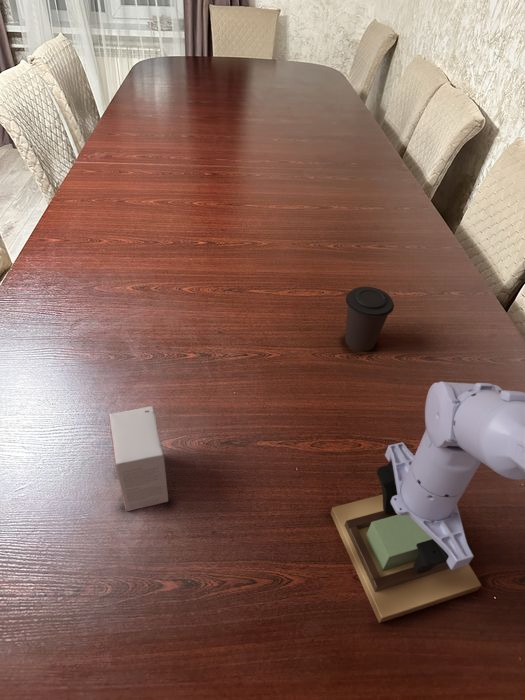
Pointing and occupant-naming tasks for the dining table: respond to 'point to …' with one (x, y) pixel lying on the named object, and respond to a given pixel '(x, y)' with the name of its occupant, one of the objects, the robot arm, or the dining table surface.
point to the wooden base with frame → (398, 582)
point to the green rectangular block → (395, 540)
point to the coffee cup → (366, 316)
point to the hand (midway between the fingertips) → (406, 537)
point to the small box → (138, 458)
